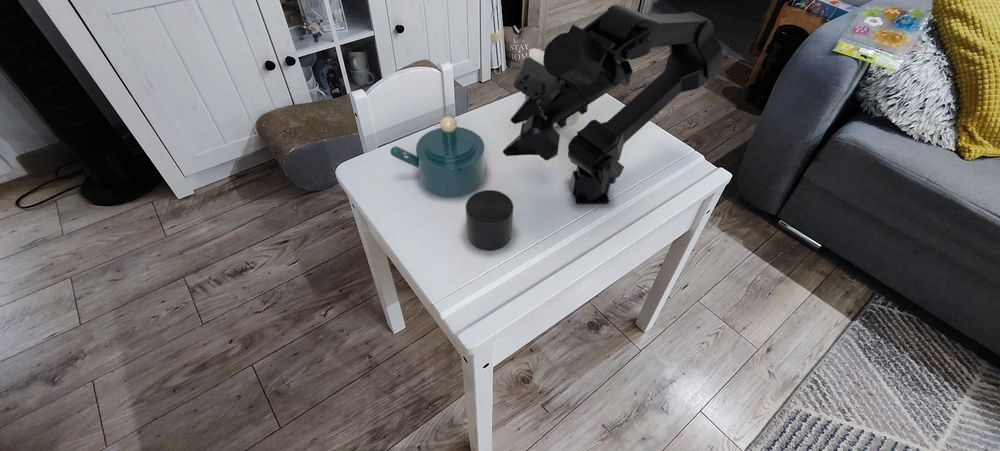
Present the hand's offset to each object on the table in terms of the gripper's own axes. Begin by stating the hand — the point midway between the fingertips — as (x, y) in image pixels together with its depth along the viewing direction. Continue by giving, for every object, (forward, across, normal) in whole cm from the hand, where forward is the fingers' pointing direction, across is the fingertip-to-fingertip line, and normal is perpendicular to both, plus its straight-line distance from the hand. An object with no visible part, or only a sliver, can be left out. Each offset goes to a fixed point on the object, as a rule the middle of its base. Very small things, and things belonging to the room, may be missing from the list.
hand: (508, 137), depth 79 cm
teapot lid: (+12, -3, -4) cm, 13 cm away
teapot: (+20, -5, -1) cm, 20 cm away
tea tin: (+11, +11, +9) cm, 17 cm away
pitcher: (+5, -26, +14) cm, 30 cm away
